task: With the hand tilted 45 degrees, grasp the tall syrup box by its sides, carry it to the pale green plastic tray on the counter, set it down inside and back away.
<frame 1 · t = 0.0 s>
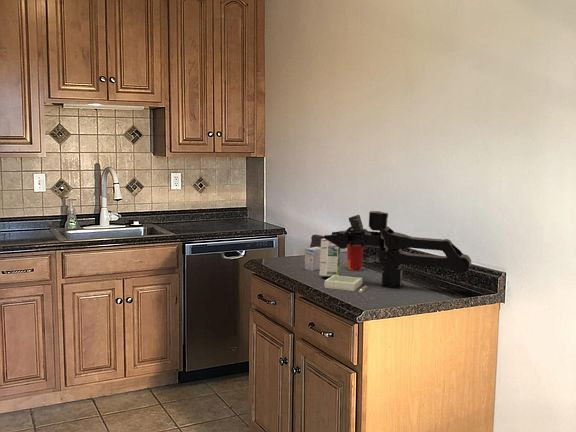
hand: (328, 235, 244), 17 cm above the counter, tool horizontal, fingers open, 9 cm apart
medicine box: (314, 269, 265), on the counter
paper cup: (354, 269, 266), on the counter
syrup box: (328, 276, 247), point 1 cm above the counter, touching gripper
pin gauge: (362, 291, 229), on the counter
tray: (343, 286, 234), on the counter
phone stand: (317, 263, 278), on the counter
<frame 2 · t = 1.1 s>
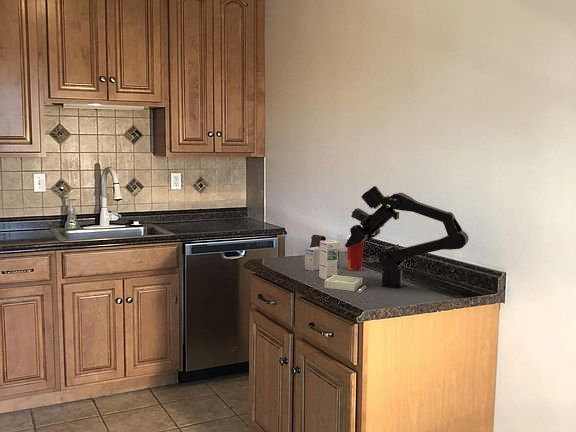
hand: (350, 244, 243), 14 cm above the counter, tool tilted 45°, fingers open, 9 cm apart
syrup box: (328, 278, 248), on the counter
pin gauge: (362, 290, 229), on the counter, tilted 39°
everything else where it was.
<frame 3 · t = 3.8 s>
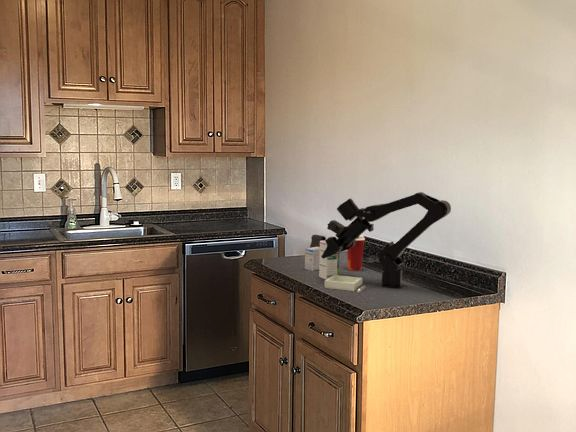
hand: (326, 256, 247), 8 cm above the counter, tool tilted 45°, fingers closed on syrup box, 8 cm apart
syrup box: (328, 278, 248), on the counter, touching gripper
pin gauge: (362, 289, 229), on the counter, tilted 92°
everything else where it was.
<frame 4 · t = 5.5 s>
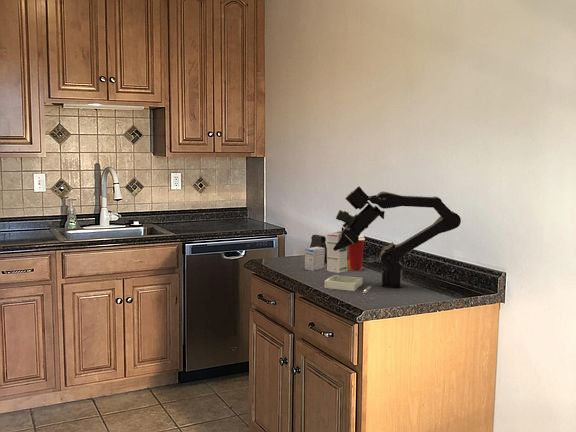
hand: (334, 248, 237), 13 cm above the counter, tool tilted 45°, fingers closed on syrup box, 8 cm apart
syrup box: (337, 271, 238), point 5 cm above the counter, touching gripper
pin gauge: (366, 288, 228), point 1 cm above the counter, tilted 179°
everything else where it was.
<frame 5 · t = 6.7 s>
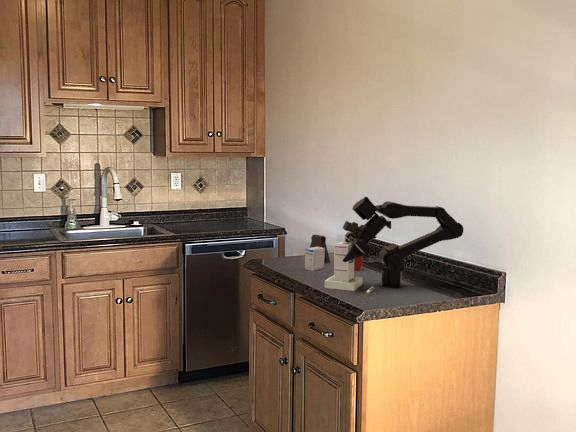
hand: (341, 259, 233), 10 cm above the counter, tool tilted 45°, fingers closed on syrup box, 8 cm apart
syrup box: (344, 282, 234), point 1 cm above the counter, touching gripper
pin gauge: (370, 291, 228), on the counter, tilted 26°
everything else where it was.
when the fingers open (10 cm above the counter, at t = 7.3 s): syrup box stays where it is, resting on tray.
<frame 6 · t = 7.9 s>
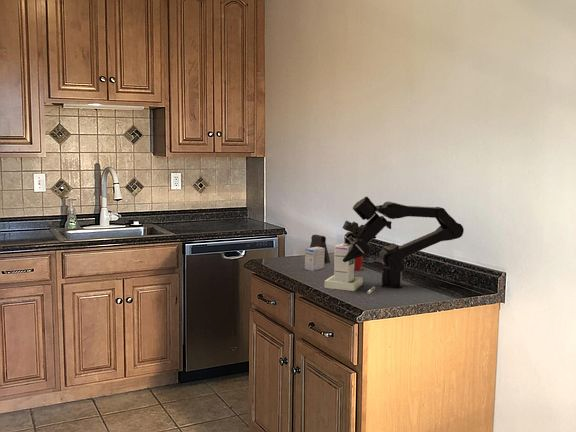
hand: (340, 259, 233), 10 cm above the counter, tool tilted 45°, fingers open, 9 cm apart
syrup box: (344, 284, 234), point 1 cm above the counter, touching tray
everything else where it was.
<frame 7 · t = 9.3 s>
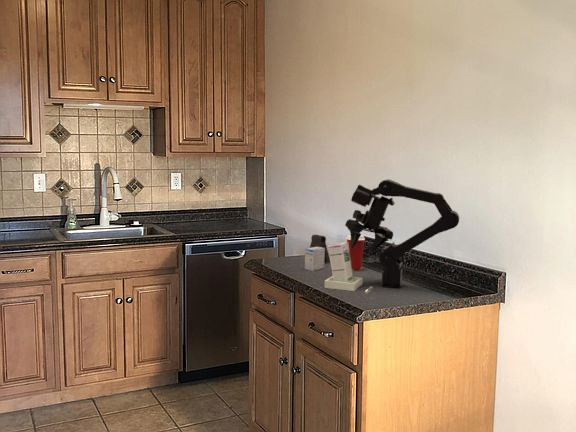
hand: (361, 250, 239), 12 cm above the counter, tool tilted 20°, fingers open, 9 cm apart
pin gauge: (370, 290, 228), on the counter, tilted 96°
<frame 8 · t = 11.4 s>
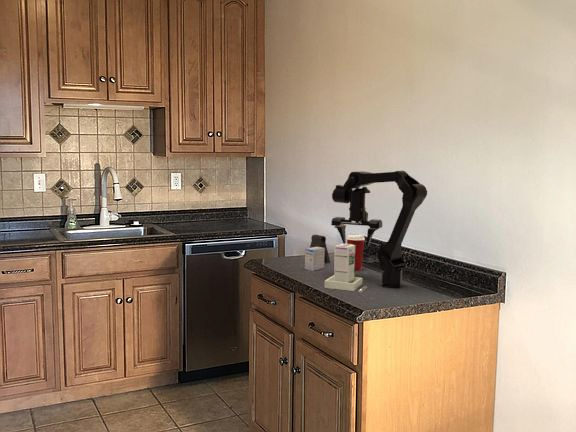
hand: (356, 245, 247), 13 cm above the counter, tool pointing down, fingers open, 9 cm apart
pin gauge: (363, 291, 229), on the counter, tilted 20°
at the end: syrup box inside the target area on the tray (0.1 cm from its centre), point 0.6 cm above the tray's base; syrup box tilted 0°; the gripper is holding nothing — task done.
